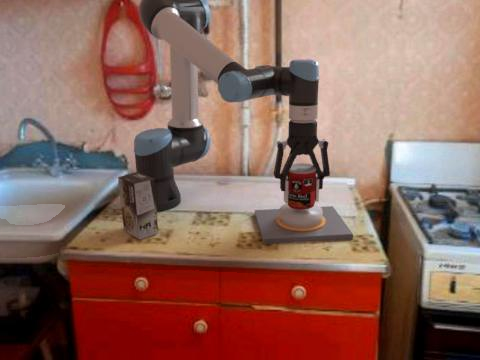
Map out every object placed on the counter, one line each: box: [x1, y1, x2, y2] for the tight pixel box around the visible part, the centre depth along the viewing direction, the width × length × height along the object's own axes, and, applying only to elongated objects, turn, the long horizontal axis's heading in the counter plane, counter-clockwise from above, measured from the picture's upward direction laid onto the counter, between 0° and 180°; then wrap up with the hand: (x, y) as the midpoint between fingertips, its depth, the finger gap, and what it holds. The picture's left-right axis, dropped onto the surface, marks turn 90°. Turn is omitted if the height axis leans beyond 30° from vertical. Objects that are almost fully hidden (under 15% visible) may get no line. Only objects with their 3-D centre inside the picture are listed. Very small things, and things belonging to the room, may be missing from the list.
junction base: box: [253, 203, 354, 245], centre depth 136 cm, size 20×24×5 cm
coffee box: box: [117, 172, 159, 240], centre depth 133 cm, size 9×6×16 cm
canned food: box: [286, 162, 317, 210], centre depth 133 cm, size 8×8×11 cm
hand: (301, 200), depth 134 cm, fingers closed on canned food, 8 cm apart
